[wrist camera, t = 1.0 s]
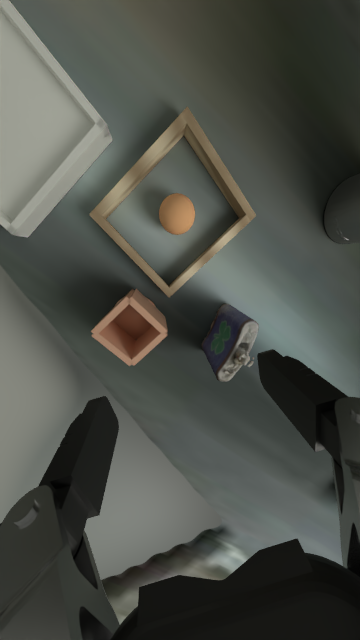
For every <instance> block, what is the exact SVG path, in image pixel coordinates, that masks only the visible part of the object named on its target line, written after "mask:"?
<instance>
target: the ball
mask: <svg viewBox="0 0 360 640" xmlns="http://www.w3.org/2000/svg"><path fill="white" fill-rule="evenodd" d="M159 218H160V222H161V224H162V226H163V227H164V229H165V230H166V231H168V232H169V233H171V234H176V235H179V234H183V233H185V232H187V231H188V230H189V229H190V228H191V226H192V224H193V222H194V218H195V210H194V206H193V204H192V202H191V201H190V199H189V198H188V197H186V196H185V195H183V194H179V193H175V194H171V195H169V196H168V197H166V198H165V199H164V200H163V202H162V204H161V206H160V210H159Z"/></svg>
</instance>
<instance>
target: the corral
mask: <svg viewBox="0 0 360 640" xmlns="http://www.w3.org/2000/svg"><path fill="white" fill-rule="evenodd" d="M183 136H185V138H186V139H187V141H188V142H189V144H190V145H191V147H192V148H193V150H194V151H195V153H196V154H197V156H198V157H199V159H200V160H201V162H202V163H203V165H204V166H205V168H206V169H207V171H208V172H209V174H210V175H211V177H212V178H213V180H214V181H215V183H216V184H217V186H218V187H219V189H220V190H221V192H222V193H223V195H224V196H225V198H226V199H227V201H228V202H229V204H230V205H231V207H232V208H233V210H234V211H235V213H236V214H237V216H238V217H239V219H238V220H237V221H236V222H235V223H234V224H232V225H231V226H230V227H229V228H228V229H227V230H226V231H225V232H224V233H223V234H222V235H221V236H220V237H219V238H218V239H217V240H216V241H215V242H214V243H213V244H212V245H210V246H209V247H208V248H207V249H206V250H205V251H204V252H203V253H202V254H201V255H200V256H199V257H198V258H197V259H196V260H195V261H194V262H193V263H192V264H191V265H189V266H188V267H187V268H186V269H185V270H184V271H183V272H182V273H181V274H180V275H179V276H178V277H177V278H176V279H175V280H174V281H173V282H172V283H171V284H170V285H169V286H168V285H167V284H166V283H165V282H164V281H163V279H162V278H161V277H160V276H159V275H158V274H157V273H156V272H155V271H154V270H153V269H152V268H151V267H150V266H149V265H148V263H147V262H146V261H145V260H144V259H143V258H142V257H141V256H140V255H139V254H138V253H137V252H136V251H135V250H134V249H133V247H132V246H131V245H130V244H129V243H128V242H127V241H126V240H125V239H124V238H123V237H122V236H121V235H120V234H119V233H118V232H117V230H116V229H115V228H114V227H113V226H112V225H111V224H110V223H109V222H108V221H107V220H106V219H107V217H108V216H109V215H110V214H111V213H112V212H113V211H114V210H115V209H116V208H117V207H118V206H119V205H120V203H121V202H122V201H123V200H124V199H125V198H126V197H127V196H128V195H129V194H130V193H131V192H132V191H133V189H134V188H135V187H136V186H137V185H138V184H139V183H140V182H141V181H142V180H143V179H144V178H145V177H146V175H147V174H148V173H149V172H150V171H151V170H152V169H153V168H154V167H155V166H156V165H157V164H158V163H159V161H160V160H161V159H162V158H163V157H164V156H165V155H166V154H167V153H168V152H169V151H170V150H171V149H172V147H173V146H174V145H175V144H176V143H177V142H178V141H179V140H180V139H181V138H182V137H183ZM89 215H90V216H91V217H92V218H93V219H94V220H95V221H96V222H97V223H98V224H99V225H100V226H101V228H102V229H103V230H104V231H105V232H106V233H107V234H108V235H109V236H110V237H111V238H112V239H113V240H114V241H115V242H116V243H117V244H118V245H119V246H120V247H121V248H122V249H123V250H124V251H125V252H126V253H127V255H128V256H129V257H130V258H131V259H132V260H133V261H134V262H135V263H136V264H137V265H138V266H139V267H140V268H141V269H142V270H143V271H144V272H145V273H146V274H147V275H148V276H149V277H150V278H151V279H152V280H153V281H154V283H155V284H156V285H157V286H158V287H159V288H160V289H161V290H162V291H163V292H164V293H165V294H166V295H167V296H168V297H170V296H171V295H172V294H174V293H175V292H176V291H177V290H178V289H179V288H180V287H181V286H182V285H183V284H184V283H185V282H186V281H187V280H188V279H189V278H191V277H192V276H193V275H194V274H195V273H196V272H197V271H198V270H199V269H200V268H201V267H202V266H203V265H204V264H205V263H206V262H208V261H209V260H210V259H211V258H212V257H213V256H214V255H215V254H216V253H217V252H218V251H219V250H220V249H221V248H222V247H223V246H224V245H226V244H227V243H228V242H229V241H230V240H231V239H232V238H233V237H234V236H235V235H236V234H237V233H238V232H239V231H240V230H241V229H243V228H244V227H245V226H246V225H247V224H248V223H249V222H250V221H251V220H252V219H253V218H254V217H255V216H256V214H255V213H254V211H253V209H252V208H251V206H250V205H249V203H248V202H247V200H246V198H245V197H244V195H243V194H242V192H241V190H240V189H239V187H238V186H237V184H236V183H235V181H234V179H233V178H232V176H231V175H230V173H229V171H228V170H227V168H226V167H225V165H224V164H223V162H222V160H221V159H220V157H219V156H218V154H217V152H216V151H215V149H214V148H213V146H212V145H211V143H210V141H209V140H208V138H207V137H206V135H205V133H204V132H203V130H202V129H201V127H200V126H199V124H198V122H197V121H196V119H195V118H194V116H193V114H192V113H191V111H190V110H189V108H188V107H186V108H185V110H184V111H183V112H182V113H181V114H180V115H179V116H178V117H177V118H176V119H175V121H174V122H173V123H172V124H171V125H170V126H169V127H168V128H167V129H166V130H165V132H164V133H163V134H162V135H161V136H160V137H159V138H158V139H157V140H156V141H155V143H154V144H153V145H152V146H151V147H150V148H149V149H148V150H147V151H146V152H145V154H144V155H143V156H142V157H141V158H140V159H139V160H138V161H137V162H136V163H135V165H134V166H133V167H132V168H131V169H130V170H129V171H128V172H127V173H126V174H125V176H124V177H123V178H122V179H121V180H120V181H119V182H118V183H117V184H116V185H115V186H114V188H113V189H112V190H111V191H110V192H109V193H108V194H107V195H106V196H105V197H104V199H103V200H102V201H101V202H100V203H99V204H98V205H97V206H96V207H95V208H94V210H93V211H92V212H91V213H90V214H89Z"/></svg>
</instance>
